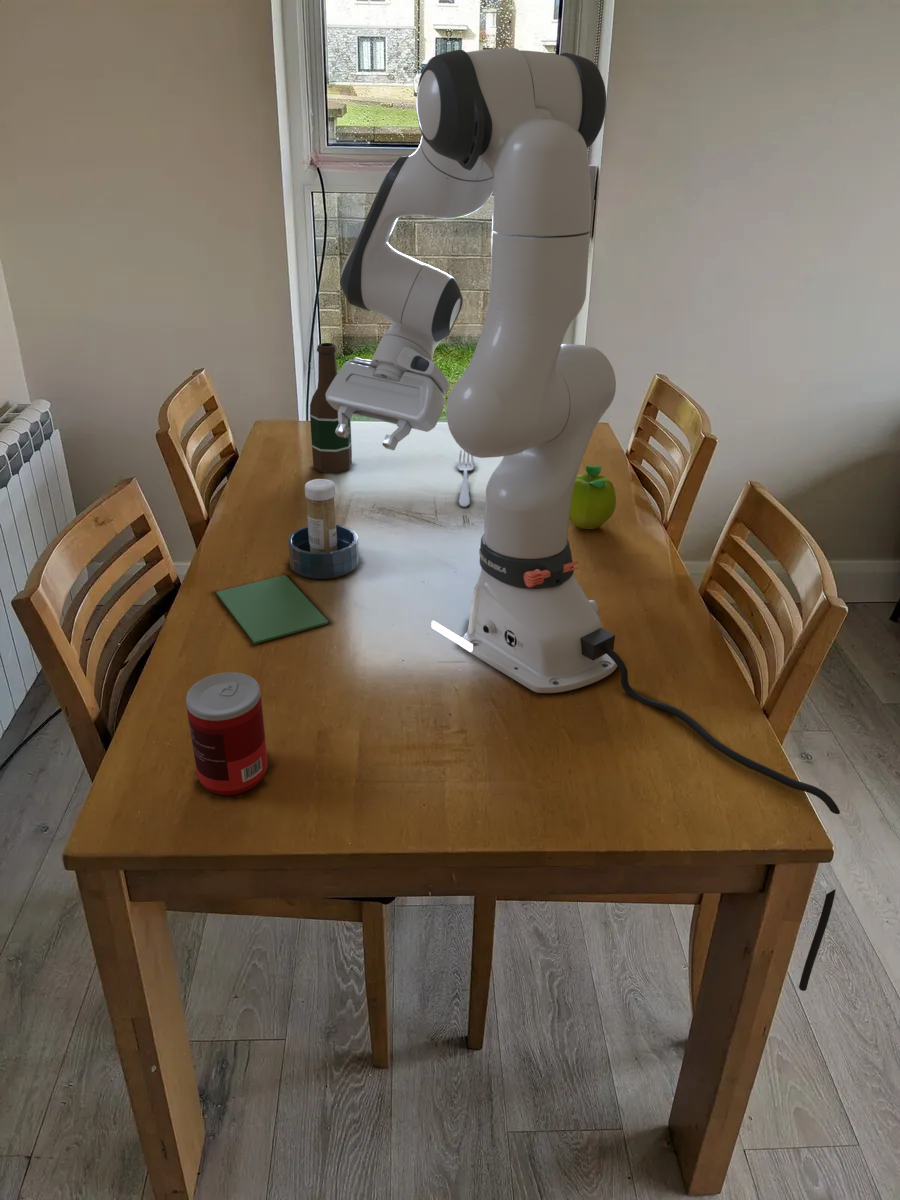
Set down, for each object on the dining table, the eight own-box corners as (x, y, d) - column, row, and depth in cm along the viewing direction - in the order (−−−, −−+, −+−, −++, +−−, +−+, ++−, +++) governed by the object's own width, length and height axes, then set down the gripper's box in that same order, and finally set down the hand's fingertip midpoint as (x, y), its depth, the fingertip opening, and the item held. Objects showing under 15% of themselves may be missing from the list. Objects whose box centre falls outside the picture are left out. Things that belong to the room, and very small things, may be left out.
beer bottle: (309, 461, 184) (302, 340, 172) (348, 457, 186) (343, 338, 175) (316, 475, 178) (309, 351, 166) (356, 471, 180) (351, 348, 168)
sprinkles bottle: (343, 564, 146) (340, 485, 139) (317, 571, 144) (312, 491, 137) (330, 553, 149) (326, 475, 142) (304, 560, 147) (299, 481, 140)
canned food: (272, 750, 106) (264, 671, 101) (263, 797, 100) (253, 715, 94) (205, 750, 106) (194, 671, 101) (191, 798, 99) (178, 716, 94)
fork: (455, 507, 166) (455, 497, 165) (458, 458, 187) (458, 449, 186) (472, 507, 166) (473, 498, 165) (474, 458, 187) (474, 450, 186)
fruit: (611, 515, 164) (617, 462, 159) (614, 538, 156) (620, 483, 151) (559, 512, 165) (563, 460, 160) (559, 535, 157) (564, 480, 152)
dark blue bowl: (370, 570, 145) (369, 544, 143) (306, 586, 140) (304, 560, 138) (340, 543, 153) (339, 518, 151) (279, 557, 148) (277, 532, 146)
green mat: (328, 623, 131) (328, 621, 131) (254, 644, 126) (254, 642, 126) (285, 576, 143) (285, 574, 142) (216, 594, 138) (216, 591, 137)
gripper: (339, 345, 150) (303, 419, 148) (444, 366, 141) (407, 445, 139) (357, 366, 156) (322, 437, 154) (459, 387, 146) (424, 464, 144)
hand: (363, 441), depth 146 cm, fingers open, 8 cm apart
